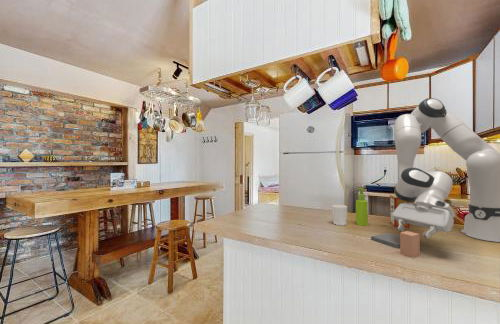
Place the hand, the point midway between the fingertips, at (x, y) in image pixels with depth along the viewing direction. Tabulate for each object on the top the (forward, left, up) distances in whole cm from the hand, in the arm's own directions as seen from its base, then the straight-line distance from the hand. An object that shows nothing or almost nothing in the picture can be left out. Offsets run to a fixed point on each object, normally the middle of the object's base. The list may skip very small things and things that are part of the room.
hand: (412, 233), depth 93 cm
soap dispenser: (-17, -37, -8) cm, 42 cm away
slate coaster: (-5, -11, -7) cm, 14 cm away
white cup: (-7, -43, -8) cm, 45 cm away
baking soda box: (-33, -26, -8) cm, 43 cm away
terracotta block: (+3, +1, -7) cm, 8 cm away
